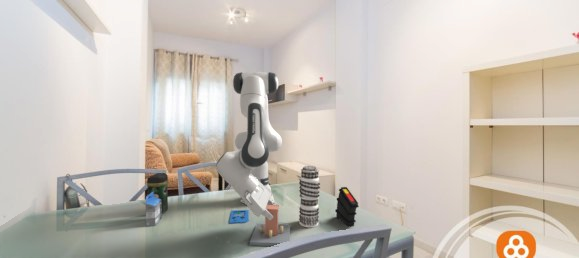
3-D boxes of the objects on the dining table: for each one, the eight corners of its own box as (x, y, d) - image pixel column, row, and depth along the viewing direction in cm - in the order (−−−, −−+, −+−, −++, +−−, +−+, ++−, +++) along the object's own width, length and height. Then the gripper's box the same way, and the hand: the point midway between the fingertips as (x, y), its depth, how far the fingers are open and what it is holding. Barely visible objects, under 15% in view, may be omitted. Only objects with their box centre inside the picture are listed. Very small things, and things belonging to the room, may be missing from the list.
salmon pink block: (266, 229, 96) (266, 204, 96) (278, 230, 96) (278, 205, 96) (264, 235, 92) (265, 208, 92) (277, 235, 92) (277, 209, 91)
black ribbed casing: (339, 210, 119) (346, 186, 112) (352, 232, 108) (361, 207, 101) (332, 211, 118) (339, 186, 111) (344, 233, 106) (354, 207, 100)
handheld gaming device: (229, 222, 104) (231, 209, 119) (229, 224, 104) (231, 212, 119) (248, 221, 106) (248, 209, 121) (248, 223, 106) (248, 211, 121)
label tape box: (155, 225, 101) (155, 196, 101) (144, 226, 100) (145, 197, 100) (162, 217, 109) (162, 190, 109) (152, 218, 109) (152, 191, 108)
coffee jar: (153, 208, 120) (153, 171, 120) (169, 208, 121) (170, 171, 121) (143, 216, 111) (144, 175, 110) (161, 216, 112) (162, 175, 111)
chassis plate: (257, 226, 102) (257, 217, 102) (290, 227, 102) (290, 218, 102) (249, 245, 86) (249, 235, 86) (288, 246, 86) (288, 236, 86)
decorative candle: (293, 222, 107) (295, 166, 107) (308, 217, 113) (310, 164, 112) (308, 229, 100) (309, 169, 100) (323, 224, 106) (324, 167, 105)
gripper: (249, 189, 83) (276, 218, 83) (258, 176, 104) (281, 200, 104) (236, 202, 84) (263, 231, 84) (248, 186, 104) (270, 210, 104)
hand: (273, 213), depth 94 cm, fingers open, 8 cm apart
